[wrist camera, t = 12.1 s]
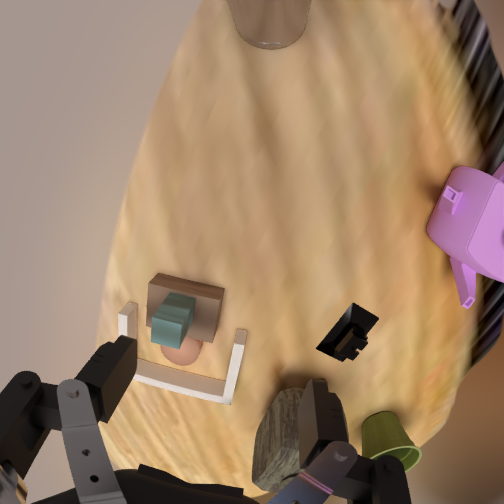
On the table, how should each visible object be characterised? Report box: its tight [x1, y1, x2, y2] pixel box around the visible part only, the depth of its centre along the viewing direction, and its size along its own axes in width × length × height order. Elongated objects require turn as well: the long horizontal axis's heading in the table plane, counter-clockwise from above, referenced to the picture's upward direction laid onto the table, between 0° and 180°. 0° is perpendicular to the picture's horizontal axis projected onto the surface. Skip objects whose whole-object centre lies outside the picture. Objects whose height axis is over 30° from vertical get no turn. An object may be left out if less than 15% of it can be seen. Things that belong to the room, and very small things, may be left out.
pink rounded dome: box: [161, 337, 202, 366], centre depth 46 cm, size 6×6×3 cm
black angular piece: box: [316, 303, 379, 362], centre depth 44 cm, size 12×7×5 cm, turn 149°
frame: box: [118, 302, 247, 405], centre depth 46 cm, size 12×19×4 cm, turn 79°
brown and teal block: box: [146, 273, 224, 349], centre depth 40 cm, size 7×10×11 cm
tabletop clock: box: [252, 379, 349, 493], centre depth 38 cm, size 14×9×25 cm, turn 161°
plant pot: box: [362, 412, 422, 472], centre depth 46 cm, size 12×12×11 cm
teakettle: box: [426, 162, 504, 309], centre depth 33 cm, size 17×17×12 cm
